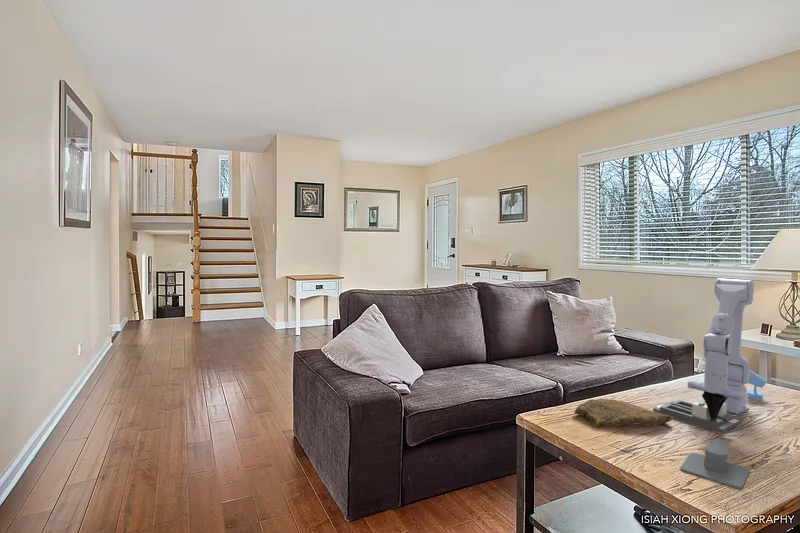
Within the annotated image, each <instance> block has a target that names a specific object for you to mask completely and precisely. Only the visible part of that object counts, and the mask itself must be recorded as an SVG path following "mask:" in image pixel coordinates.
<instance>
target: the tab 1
mask: <svg viewBox="0 0 800 533" xmlns="http://www.w3.org/2000/svg"><path fill="white" fill-rule="evenodd" d="M692 416H695V417H698V418H701V419H704V420H708V421H710V415H709V411H708V407H707V405H706V402H705V401H701V402H698V401H697V402H693V403H692Z"/></svg>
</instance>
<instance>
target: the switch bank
mask: <svg viewBox="0 0 800 533" xmlns="http://www.w3.org/2000/svg"><path fill="white" fill-rule="evenodd" d="M692 404H693V403H691V402H688V401H684V400H681V399H677V400H672V401H668V402H666V403H664V404H659V405H656V406H655V407H653V409H652V411H654V412H657V413H660V414H663V415H668V416H672V417H673V419H674V418H675V419H674V420H678V421H681V422H684V423H686V424H687V423H688V424H690V425H694V426H697V427H700V428H703V429H706V430H709V431H712V432H716V433H717V434H724V433H726V432H729V431H730V430H733V429H734V428H736V427H739V426H741V425H742V420H741V419H737V418H735V416H734V415H733V414H730V413H727V412H726V416H724V417H721V416H718V418H716V419H713V418H710V421H708V420H704V419H701V418H698V417H695V416H692Z"/></svg>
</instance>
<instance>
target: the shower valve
mask: <svg viewBox="0 0 800 533" xmlns="http://www.w3.org/2000/svg"><path fill="white" fill-rule="evenodd" d="M729 446H730V442H729V441H726V440H723V439H718V438H715V439H714V440H713V441H711V442H710V443H709V444H707V445H706V446H705V448H704V455H703V454H700V453H698V452H690V453H689V455H688V456H687V458H686V459H685V460H684V461H683V463H682V464H681V466H680V471H682V472H684V473H686V474H690V475H694V476H696V477H699V478H703V479H706V480H708V481H711V482H714V483H717V484H721V485H725V486H727V487H731V488H734V489H738V490H742V489H744V486H745V483H746V481H747V479H748V476H749V473H750V468H748V467H745V466H743V465H739V464H735V463H732V462H728V461H727V460H728V459H729V458H728V457H729Z"/></svg>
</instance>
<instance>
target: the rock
mask: <svg viewBox="0 0 800 533" xmlns="http://www.w3.org/2000/svg"><path fill="white" fill-rule="evenodd" d="M574 414H575V415H579V416H584V418H585V419H586V420H587V424H588V423H589V425H590V426H592V427H593V428H595V429H596V428H599V427H602V426H606V427H609V426H617V427H618V426H623V425H636V424H640V425H643V426H648V425H649V426H651V425H653V426H656V425H657V426H661V425H664V424H667V423H669V422H671V421H672V420H674V418H673V417H672V416H668V415H663V414H660V413H657V412H654V411H653V410H650V409H647V408H645V407H641V406H639V405H636V404H633V403H629V402H626V401H623V400H617V399H613V398H611V399H608V398H598V399H589V400H587V401H585V402H584V403H580V404H579V405H578V406H577V407H576V408H575V411H574Z"/></svg>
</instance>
